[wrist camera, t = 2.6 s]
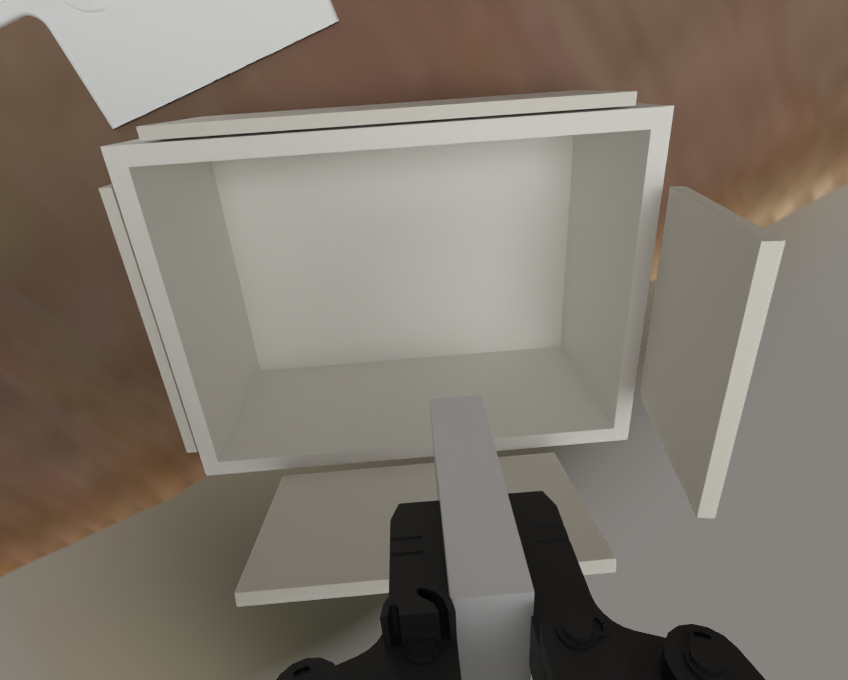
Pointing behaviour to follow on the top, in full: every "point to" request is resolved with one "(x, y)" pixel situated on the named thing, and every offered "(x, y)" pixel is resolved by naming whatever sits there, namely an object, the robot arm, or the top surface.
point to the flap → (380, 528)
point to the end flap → (705, 336)
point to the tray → (166, 42)
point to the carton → (393, 270)
